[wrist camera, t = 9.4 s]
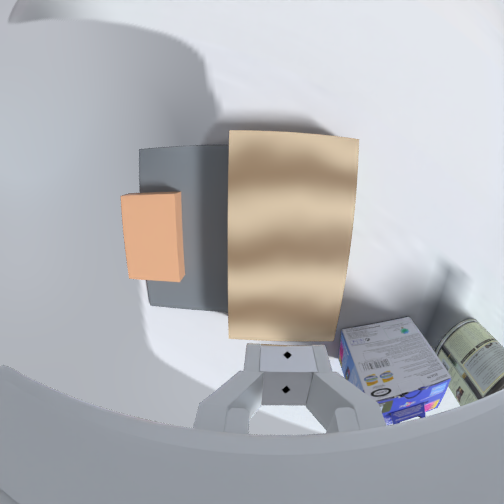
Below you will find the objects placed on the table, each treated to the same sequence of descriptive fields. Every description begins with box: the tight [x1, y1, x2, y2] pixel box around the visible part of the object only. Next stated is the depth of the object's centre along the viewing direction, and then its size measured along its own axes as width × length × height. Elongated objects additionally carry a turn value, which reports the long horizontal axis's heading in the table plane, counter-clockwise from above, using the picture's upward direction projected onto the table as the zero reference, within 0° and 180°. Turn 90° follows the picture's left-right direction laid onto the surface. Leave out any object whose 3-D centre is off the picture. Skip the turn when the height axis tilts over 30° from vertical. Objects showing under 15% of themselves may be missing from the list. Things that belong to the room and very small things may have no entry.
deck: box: [228, 130, 359, 341], centre depth 26 cm, size 20×11×4 cm, turn 178°
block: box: [121, 192, 185, 282], centre depth 27 cm, size 9×6×2 cm, turn 179°
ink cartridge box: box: [338, 317, 452, 425], centre depth 25 cm, size 10×6×14 cm, turn 98°
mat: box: [139, 145, 229, 312], centre depth 28 cm, size 18×10×1 cm, turn 179°
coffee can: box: [435, 319, 504, 406], centre depth 25 cm, size 10×10×14 cm
